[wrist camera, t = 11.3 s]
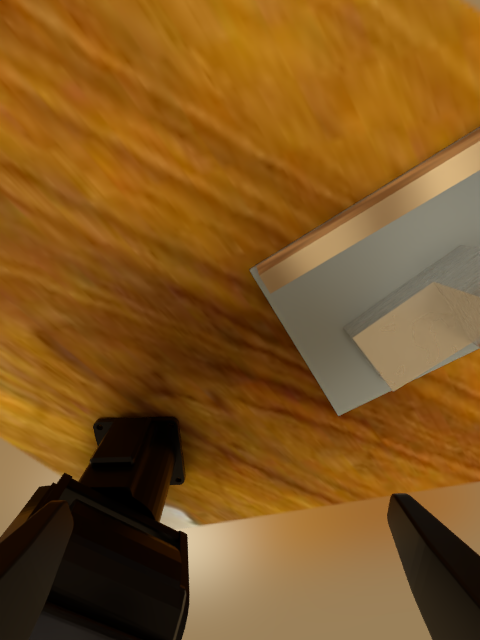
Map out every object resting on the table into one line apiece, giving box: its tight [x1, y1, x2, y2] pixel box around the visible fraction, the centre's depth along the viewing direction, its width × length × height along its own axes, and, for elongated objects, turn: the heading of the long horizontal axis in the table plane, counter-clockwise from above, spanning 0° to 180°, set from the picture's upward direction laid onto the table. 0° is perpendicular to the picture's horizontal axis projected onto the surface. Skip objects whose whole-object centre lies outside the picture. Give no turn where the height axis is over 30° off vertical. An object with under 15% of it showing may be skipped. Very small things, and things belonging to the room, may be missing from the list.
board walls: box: [256, 129, 480, 294], centre depth 17 cm, size 15×10×4 cm, turn 122°
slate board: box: [249, 127, 480, 416], centre depth 19 cm, size 16×13×1 cm
